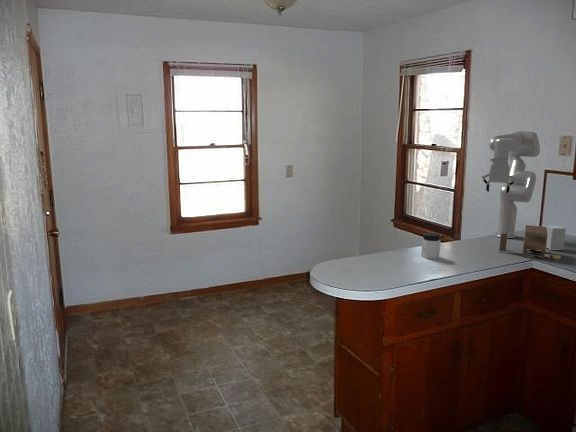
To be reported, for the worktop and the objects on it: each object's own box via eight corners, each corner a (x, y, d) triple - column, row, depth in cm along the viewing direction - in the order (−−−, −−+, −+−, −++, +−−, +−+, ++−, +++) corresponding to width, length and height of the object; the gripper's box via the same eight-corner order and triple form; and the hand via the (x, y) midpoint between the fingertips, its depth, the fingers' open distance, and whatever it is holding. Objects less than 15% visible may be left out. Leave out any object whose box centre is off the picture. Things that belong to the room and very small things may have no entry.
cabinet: (523, 248, 270) (525, 225, 267) (543, 251, 265) (546, 227, 263) (522, 257, 253) (525, 231, 250) (544, 259, 249) (547, 234, 246)
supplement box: (563, 251, 267) (566, 228, 264) (549, 250, 267) (552, 228, 264) (556, 247, 274) (559, 225, 271) (543, 247, 274) (545, 225, 272)
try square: (498, 250, 267) (500, 232, 265) (549, 256, 256) (551, 237, 254) (498, 252, 262) (500, 234, 260) (549, 258, 252) (551, 240, 250)
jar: (418, 255, 254) (419, 232, 251) (431, 254, 256) (433, 231, 254) (428, 259, 245) (429, 236, 243) (442, 258, 248) (443, 235, 245)
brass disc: (549, 256, 256) (549, 253, 256) (559, 257, 254) (560, 255, 254) (549, 259, 252) (549, 256, 251) (560, 260, 250) (560, 257, 249)
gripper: (483, 161, 266) (480, 192, 270) (517, 162, 259) (514, 194, 263) (484, 160, 273) (481, 190, 277) (518, 161, 266) (514, 192, 269)
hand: (497, 192), depth 270 cm, fingers open, 9 cm apart
